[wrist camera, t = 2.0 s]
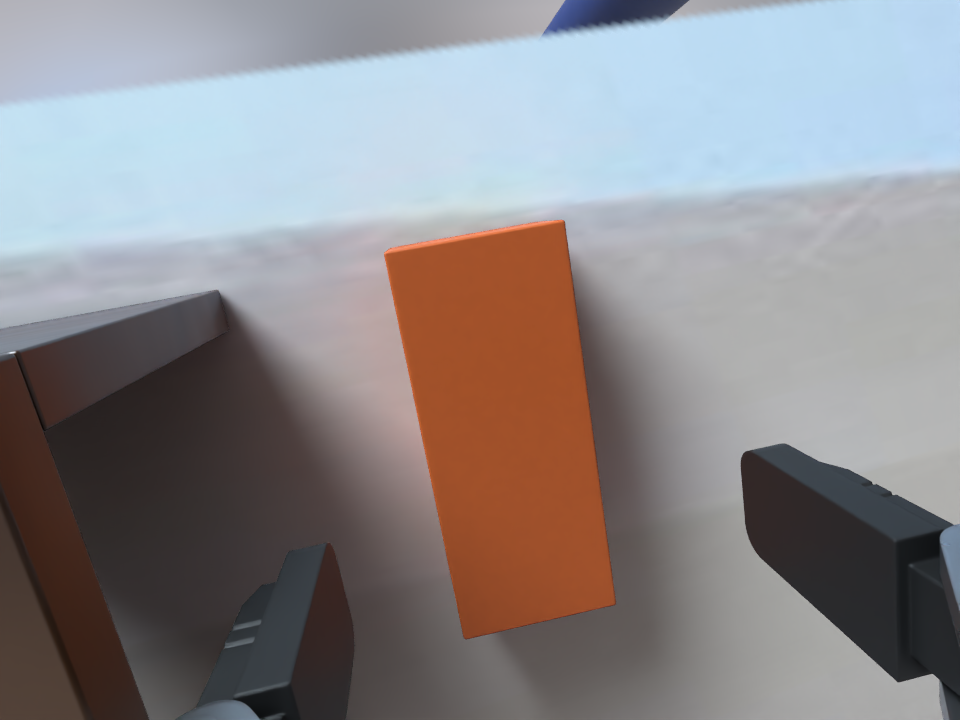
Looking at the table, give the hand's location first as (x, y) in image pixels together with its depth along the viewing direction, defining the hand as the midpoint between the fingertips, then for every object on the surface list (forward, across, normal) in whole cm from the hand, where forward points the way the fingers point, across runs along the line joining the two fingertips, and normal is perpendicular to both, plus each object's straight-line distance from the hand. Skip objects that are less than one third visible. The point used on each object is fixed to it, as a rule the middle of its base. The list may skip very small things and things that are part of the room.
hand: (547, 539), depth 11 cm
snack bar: (+8, 0, 0) cm, 8 cm away
